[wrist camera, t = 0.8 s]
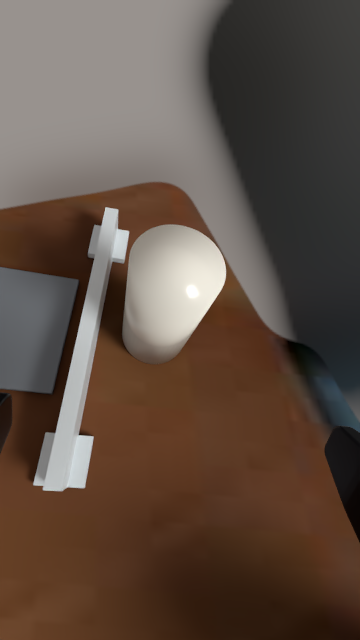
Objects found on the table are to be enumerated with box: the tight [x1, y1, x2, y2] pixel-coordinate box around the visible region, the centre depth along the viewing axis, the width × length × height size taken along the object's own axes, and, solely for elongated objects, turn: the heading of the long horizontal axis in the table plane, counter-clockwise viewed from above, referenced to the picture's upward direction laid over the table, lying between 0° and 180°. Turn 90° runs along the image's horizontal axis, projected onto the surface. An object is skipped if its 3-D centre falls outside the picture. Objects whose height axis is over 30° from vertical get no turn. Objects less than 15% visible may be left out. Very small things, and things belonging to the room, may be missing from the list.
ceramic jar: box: [122, 225, 226, 364], centre depth 20 cm, size 5×5×10 cm
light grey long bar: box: [33, 207, 129, 491], centre depth 22 cm, size 20×3×3 cm, turn 176°
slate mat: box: [0, 267, 79, 394], centre depth 22 cm, size 9×9×1 cm
